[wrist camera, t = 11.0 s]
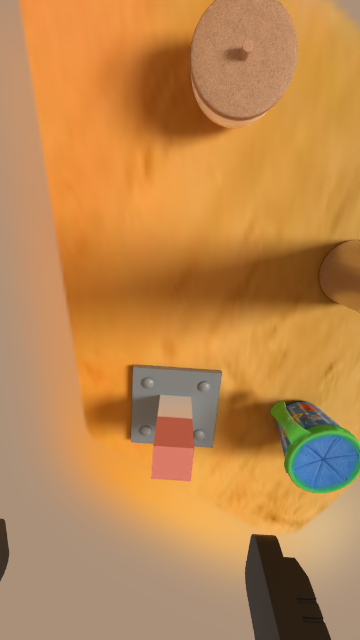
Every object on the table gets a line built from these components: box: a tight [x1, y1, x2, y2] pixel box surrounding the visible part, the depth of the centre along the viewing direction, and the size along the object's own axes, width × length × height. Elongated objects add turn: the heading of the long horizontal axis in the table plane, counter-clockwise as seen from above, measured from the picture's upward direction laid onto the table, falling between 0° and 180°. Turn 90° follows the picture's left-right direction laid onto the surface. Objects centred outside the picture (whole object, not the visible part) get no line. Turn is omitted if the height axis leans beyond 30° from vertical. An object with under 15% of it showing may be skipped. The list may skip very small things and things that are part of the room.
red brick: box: [151, 416, 194, 481], centre depth 40 cm, size 5×5×6 cm
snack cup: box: [270, 401, 360, 493], centre depth 45 cm, size 16×11×10 cm
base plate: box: [131, 365, 222, 448], centre depth 49 cm, size 14×14×1 cm
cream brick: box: [157, 395, 192, 419], centre depth 45 cm, size 5×5×6 cm
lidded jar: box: [190, 0, 298, 128], centre depth 32 cm, size 11×11×9 cm
